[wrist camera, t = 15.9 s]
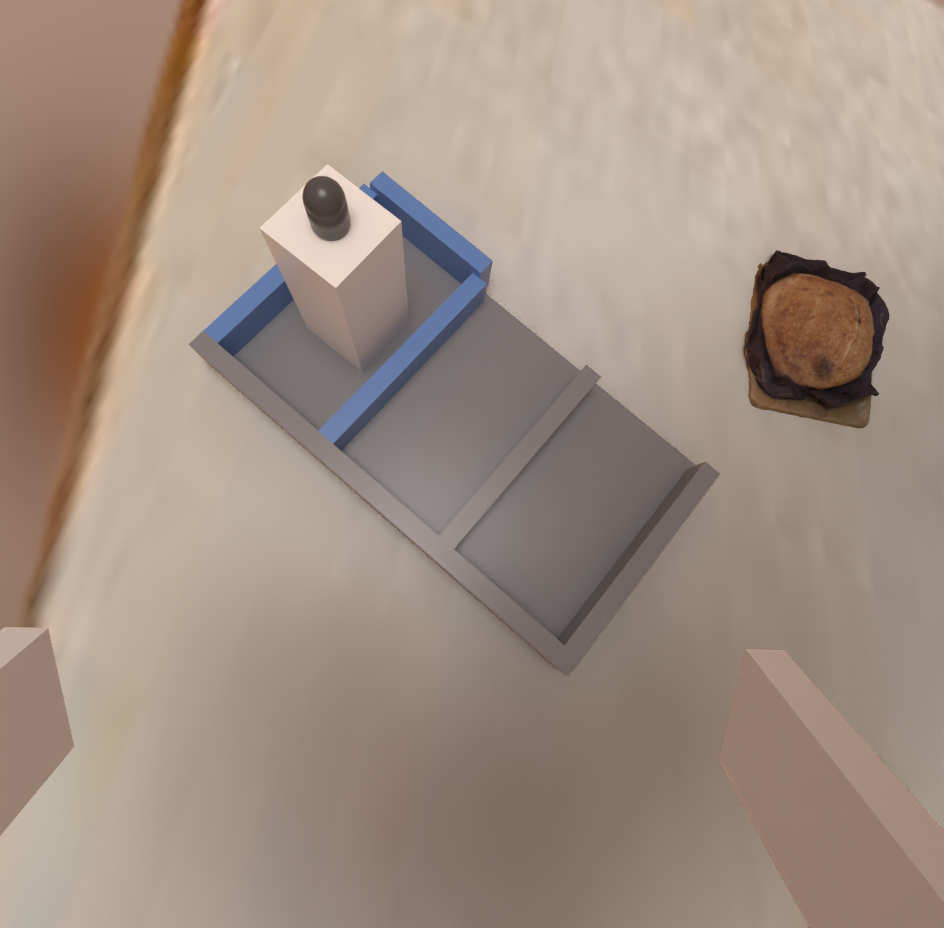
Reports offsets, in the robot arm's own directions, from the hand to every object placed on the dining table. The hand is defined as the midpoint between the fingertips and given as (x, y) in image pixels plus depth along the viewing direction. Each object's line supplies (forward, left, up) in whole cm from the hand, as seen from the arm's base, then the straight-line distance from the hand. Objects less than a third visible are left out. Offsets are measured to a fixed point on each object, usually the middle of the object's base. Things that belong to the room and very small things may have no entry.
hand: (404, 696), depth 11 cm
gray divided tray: (-10, -6, -18) cm, 21 cm away
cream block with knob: (-10, -13, -18) cm, 24 cm away
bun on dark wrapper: (-28, +7, -19) cm, 34 cm away
